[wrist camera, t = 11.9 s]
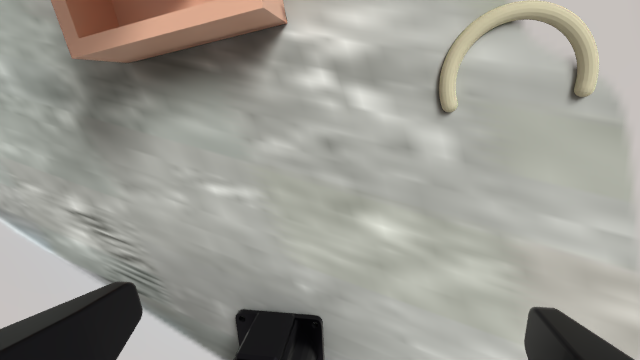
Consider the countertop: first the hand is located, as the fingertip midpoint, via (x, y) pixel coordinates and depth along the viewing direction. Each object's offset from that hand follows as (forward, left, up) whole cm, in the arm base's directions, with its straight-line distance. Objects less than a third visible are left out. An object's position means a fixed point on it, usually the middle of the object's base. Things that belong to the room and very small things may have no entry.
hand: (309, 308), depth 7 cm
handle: (+6, -8, -14) cm, 17 cm away
